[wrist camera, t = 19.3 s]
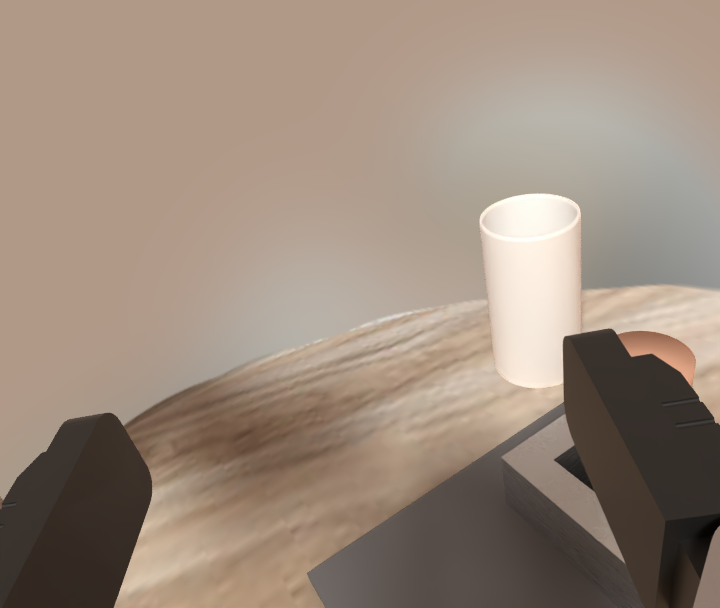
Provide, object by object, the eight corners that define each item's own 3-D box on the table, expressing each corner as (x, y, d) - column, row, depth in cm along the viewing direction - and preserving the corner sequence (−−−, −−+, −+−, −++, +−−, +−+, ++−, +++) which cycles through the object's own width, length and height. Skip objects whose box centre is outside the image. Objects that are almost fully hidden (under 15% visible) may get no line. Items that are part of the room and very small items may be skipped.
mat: (310, 581, 43) (306, 573, 42) (581, 398, 52) (581, 390, 52) (454, 831, 30) (451, 824, 29) (783, 527, 39) (786, 518, 39)
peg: (576, 510, 42) (581, 358, 35) (620, 472, 44) (633, 321, 37) (640, 557, 38) (661, 398, 31) (685, 513, 40) (714, 355, 33)
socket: (505, 502, 44) (500, 457, 41) (616, 423, 48) (618, 377, 45) (646, 633, 35) (651, 585, 32) (769, 521, 39) (783, 471, 36)
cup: (565, 397, 53) (562, 243, 44) (481, 376, 57) (463, 232, 49) (592, 343, 58) (593, 195, 49) (512, 328, 63) (501, 190, 54)
